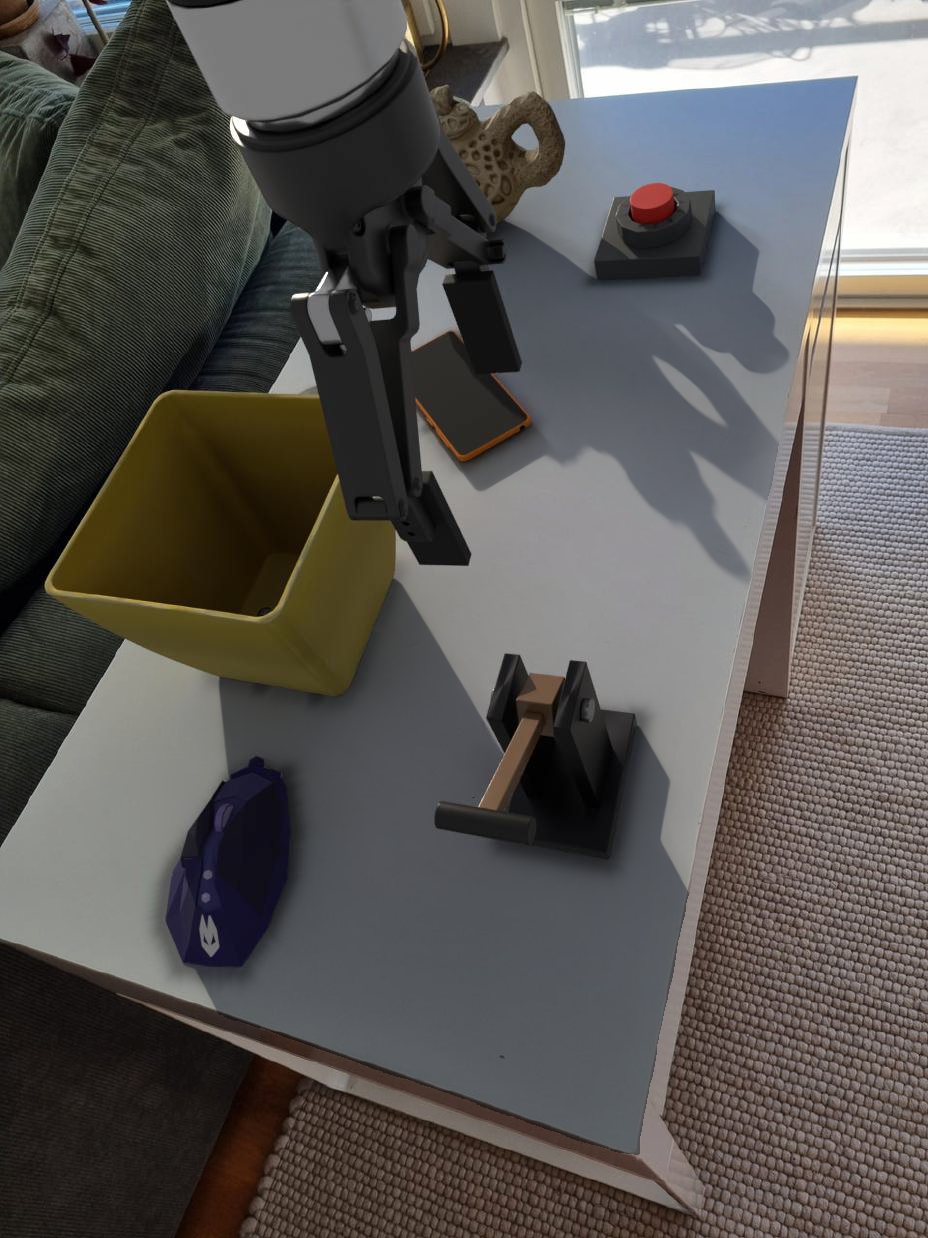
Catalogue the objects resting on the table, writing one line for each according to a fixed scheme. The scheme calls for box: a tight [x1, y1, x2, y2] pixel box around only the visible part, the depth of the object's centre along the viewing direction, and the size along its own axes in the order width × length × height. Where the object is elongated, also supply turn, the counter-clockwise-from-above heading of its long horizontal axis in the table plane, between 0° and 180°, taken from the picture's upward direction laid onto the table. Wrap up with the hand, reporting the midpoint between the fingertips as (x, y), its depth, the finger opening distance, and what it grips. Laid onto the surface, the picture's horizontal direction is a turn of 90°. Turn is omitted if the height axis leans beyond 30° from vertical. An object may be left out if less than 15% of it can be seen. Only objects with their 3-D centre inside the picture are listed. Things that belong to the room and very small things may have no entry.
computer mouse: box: [164, 755, 292, 968], centre depth 66 cm, size 9×15×4 cm, turn 173°
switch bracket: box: [485, 652, 638, 860], centre depth 59 cm, size 10×7×13 cm
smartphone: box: [411, 329, 532, 462], centre depth 88 cm, size 8×17×1 cm, turn 27°
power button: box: [630, 182, 675, 224], centre depth 89 cm, size 4×4×2 cm
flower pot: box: [44, 389, 397, 697], centre depth 71 cm, size 19×19×17 cm
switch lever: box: [433, 672, 566, 847], centre depth 52 cm, size 12×5×2 cm, turn 164°
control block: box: [593, 186, 717, 281], centre depth 91 cm, size 10×10×4 cm
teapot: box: [429, 84, 566, 225], centre depth 96 cm, size 21×12×15 cm, turn 82°
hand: (473, 458), depth 52 cm, fingers open, 13 cm apart
